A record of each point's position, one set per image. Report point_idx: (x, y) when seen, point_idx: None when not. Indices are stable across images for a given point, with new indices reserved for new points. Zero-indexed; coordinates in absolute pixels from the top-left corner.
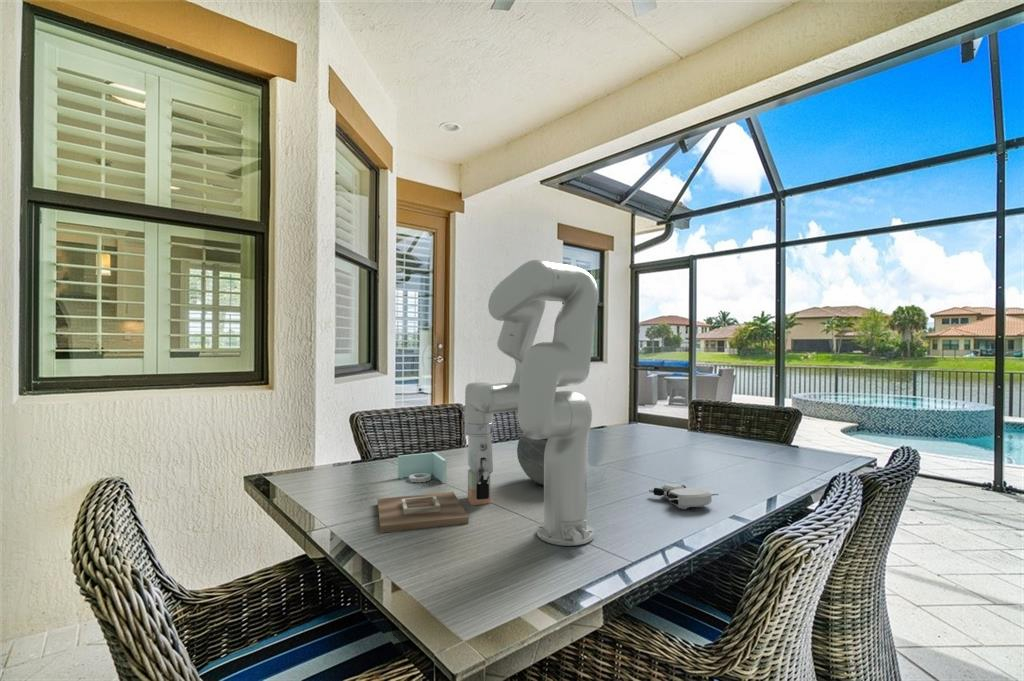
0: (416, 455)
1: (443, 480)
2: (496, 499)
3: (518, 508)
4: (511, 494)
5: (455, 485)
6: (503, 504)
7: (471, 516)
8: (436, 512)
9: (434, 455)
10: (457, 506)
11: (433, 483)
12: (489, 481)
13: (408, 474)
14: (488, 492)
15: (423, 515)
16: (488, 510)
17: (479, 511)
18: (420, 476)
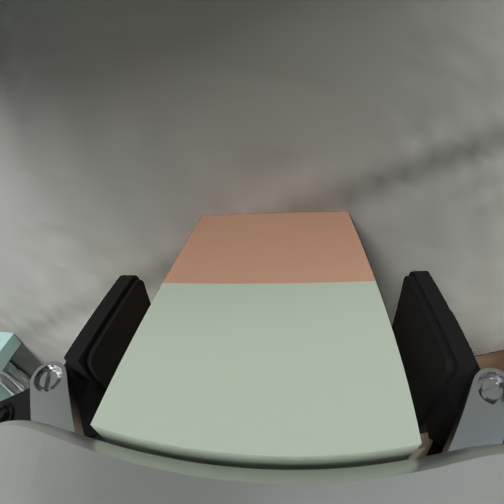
0: None
1: (14, 349)
2: (265, 141)
3: (499, 62)
4: (157, 5)
5: (23, 314)
6: (404, 122)
7: (479, 335)
8: (424, 437)
9: None
10: None
11: (30, 364)
12: (391, 345)
13: (10, 394)
14: (441, 300)
15: (423, 452)
16: (464, 254)
17: (451, 300)
18: (4, 376)
